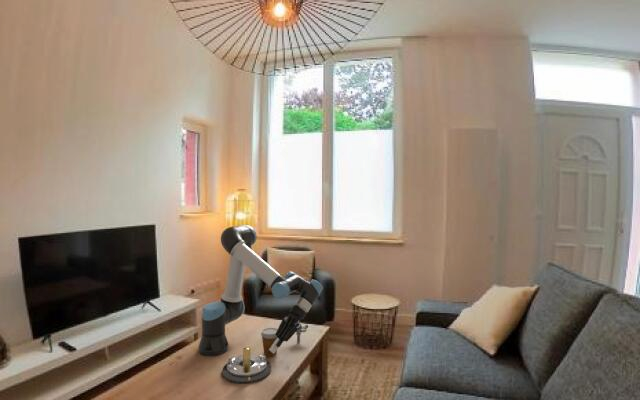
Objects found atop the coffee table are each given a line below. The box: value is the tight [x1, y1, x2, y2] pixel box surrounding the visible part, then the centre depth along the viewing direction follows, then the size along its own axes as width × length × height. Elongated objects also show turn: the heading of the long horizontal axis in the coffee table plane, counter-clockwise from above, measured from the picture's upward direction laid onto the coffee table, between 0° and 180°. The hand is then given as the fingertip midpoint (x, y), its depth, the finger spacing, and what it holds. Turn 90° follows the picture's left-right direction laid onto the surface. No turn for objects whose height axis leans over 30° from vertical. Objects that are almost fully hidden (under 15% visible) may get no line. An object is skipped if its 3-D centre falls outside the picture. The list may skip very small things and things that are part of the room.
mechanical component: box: [295, 323, 309, 344], centre depth 206 cm, size 3×10×10 cm, turn 89°
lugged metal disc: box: [226, 346, 268, 377], centre depth 173 cm, size 18×18×12 cm
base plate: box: [221, 360, 272, 385], centre depth 173 cm, size 22×22×2 cm
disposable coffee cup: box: [260, 327, 278, 358], centre depth 191 cm, size 10×10×12 cm
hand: (271, 351), depth 173 cm, fingers closed
